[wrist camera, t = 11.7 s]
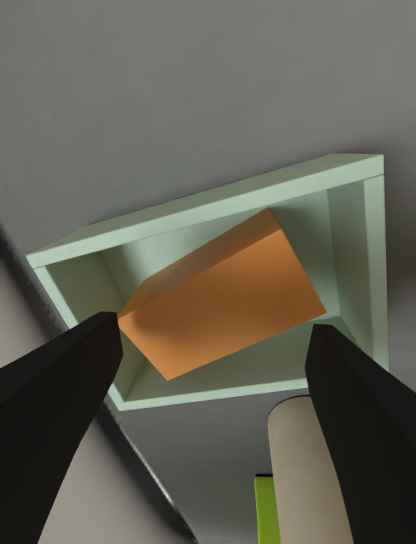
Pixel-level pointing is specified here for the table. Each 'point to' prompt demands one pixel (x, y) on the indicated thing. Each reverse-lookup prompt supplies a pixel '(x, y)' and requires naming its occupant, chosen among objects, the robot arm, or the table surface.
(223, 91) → the table surface
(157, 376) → the bin
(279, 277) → the orange rectangular block
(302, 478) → the candle
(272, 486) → the box
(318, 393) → the robot arm
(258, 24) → the table surface
